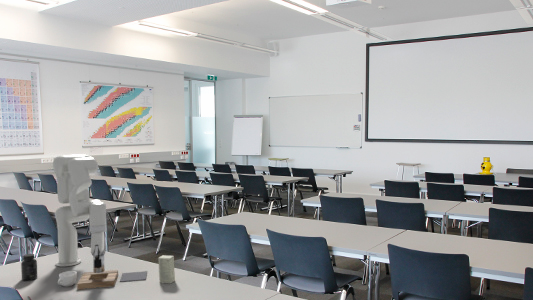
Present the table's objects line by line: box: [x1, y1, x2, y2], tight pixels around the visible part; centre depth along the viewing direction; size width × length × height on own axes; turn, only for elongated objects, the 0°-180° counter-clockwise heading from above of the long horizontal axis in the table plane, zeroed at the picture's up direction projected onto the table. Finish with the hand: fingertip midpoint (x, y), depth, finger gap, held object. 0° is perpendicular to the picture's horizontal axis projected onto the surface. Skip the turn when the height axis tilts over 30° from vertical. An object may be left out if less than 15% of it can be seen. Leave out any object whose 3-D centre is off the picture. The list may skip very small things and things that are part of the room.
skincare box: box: [158, 254, 176, 284], centre depth 203 cm, size 6×4×12 cm
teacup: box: [57, 270, 78, 287], centre depth 200 cm, size 10×8×5 cm
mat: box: [119, 270, 148, 283], centre depth 211 cm, size 12×12×1 cm
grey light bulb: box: [91, 249, 106, 273], centre depth 204 cm, size 6×6×10 cm
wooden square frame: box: [76, 269, 119, 290], centre depth 204 cm, size 16×16×3 cm
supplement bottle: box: [20, 253, 38, 282], centre depth 209 cm, size 7×7×12 cm
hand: (98, 265), depth 204 cm, fingers closed on grey light bulb, 5 cm apart
